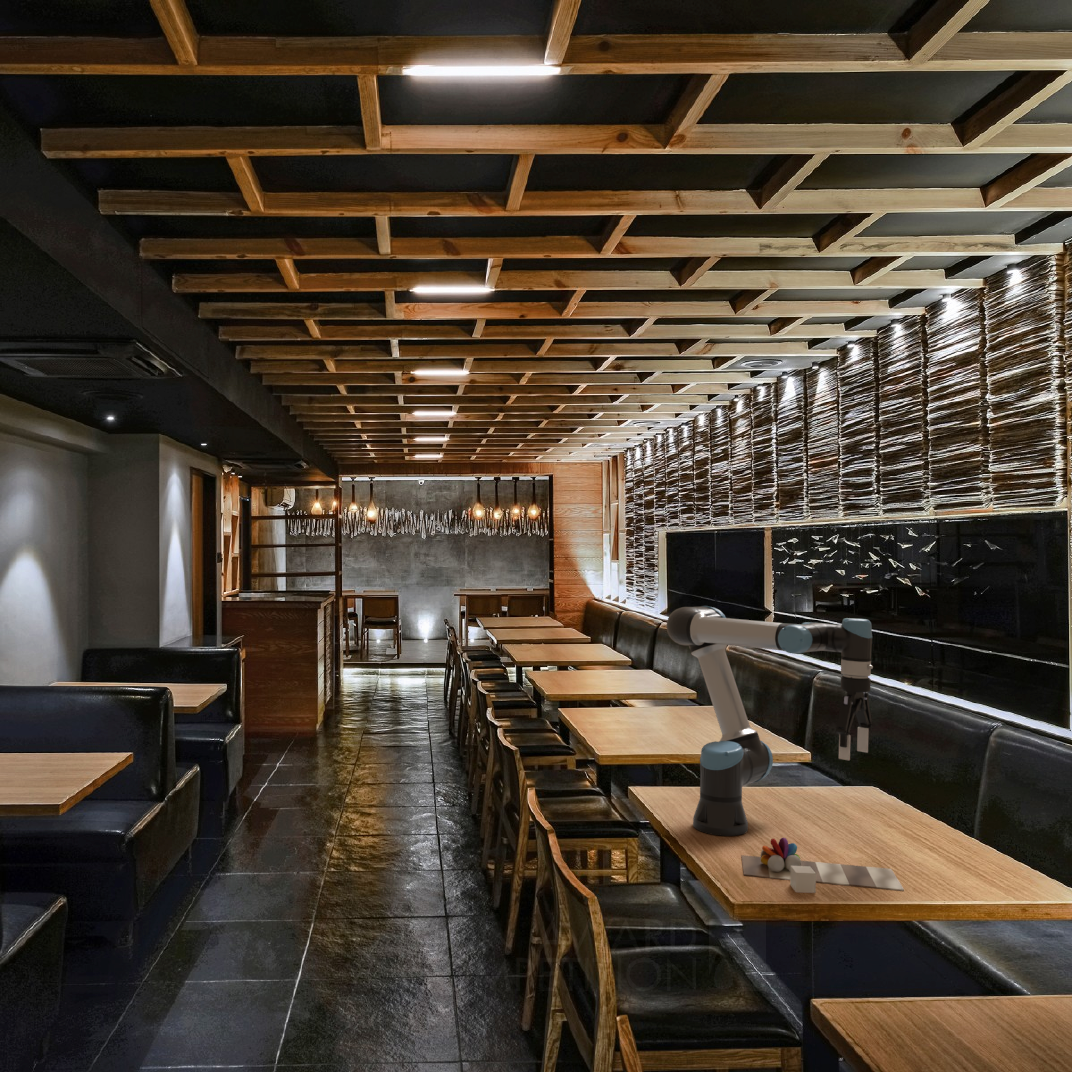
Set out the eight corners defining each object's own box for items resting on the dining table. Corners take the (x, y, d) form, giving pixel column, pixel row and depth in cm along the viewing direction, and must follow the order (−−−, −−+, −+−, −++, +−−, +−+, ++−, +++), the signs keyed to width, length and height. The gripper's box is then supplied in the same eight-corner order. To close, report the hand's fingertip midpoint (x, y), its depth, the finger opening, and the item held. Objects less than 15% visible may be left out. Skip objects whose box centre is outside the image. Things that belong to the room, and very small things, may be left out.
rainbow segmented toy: (755, 861, 213) (755, 832, 213) (792, 861, 214) (793, 832, 214) (767, 874, 204) (767, 843, 205) (806, 874, 205) (806, 843, 205)
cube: (795, 892, 194) (796, 872, 194) (790, 885, 199) (790, 865, 199) (815, 893, 194) (815, 873, 194) (809, 885, 199) (810, 866, 199)
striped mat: (743, 875, 204) (743, 874, 204) (741, 856, 218) (741, 855, 218) (904, 890, 197) (904, 889, 197) (891, 870, 210) (891, 868, 210)
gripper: (853, 681, 218) (850, 765, 217) (885, 674, 237) (883, 750, 236) (824, 678, 222) (821, 760, 222) (858, 670, 241) (856, 746, 241)
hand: (853, 755), depth 229 cm, fingers open, 13 cm apart
